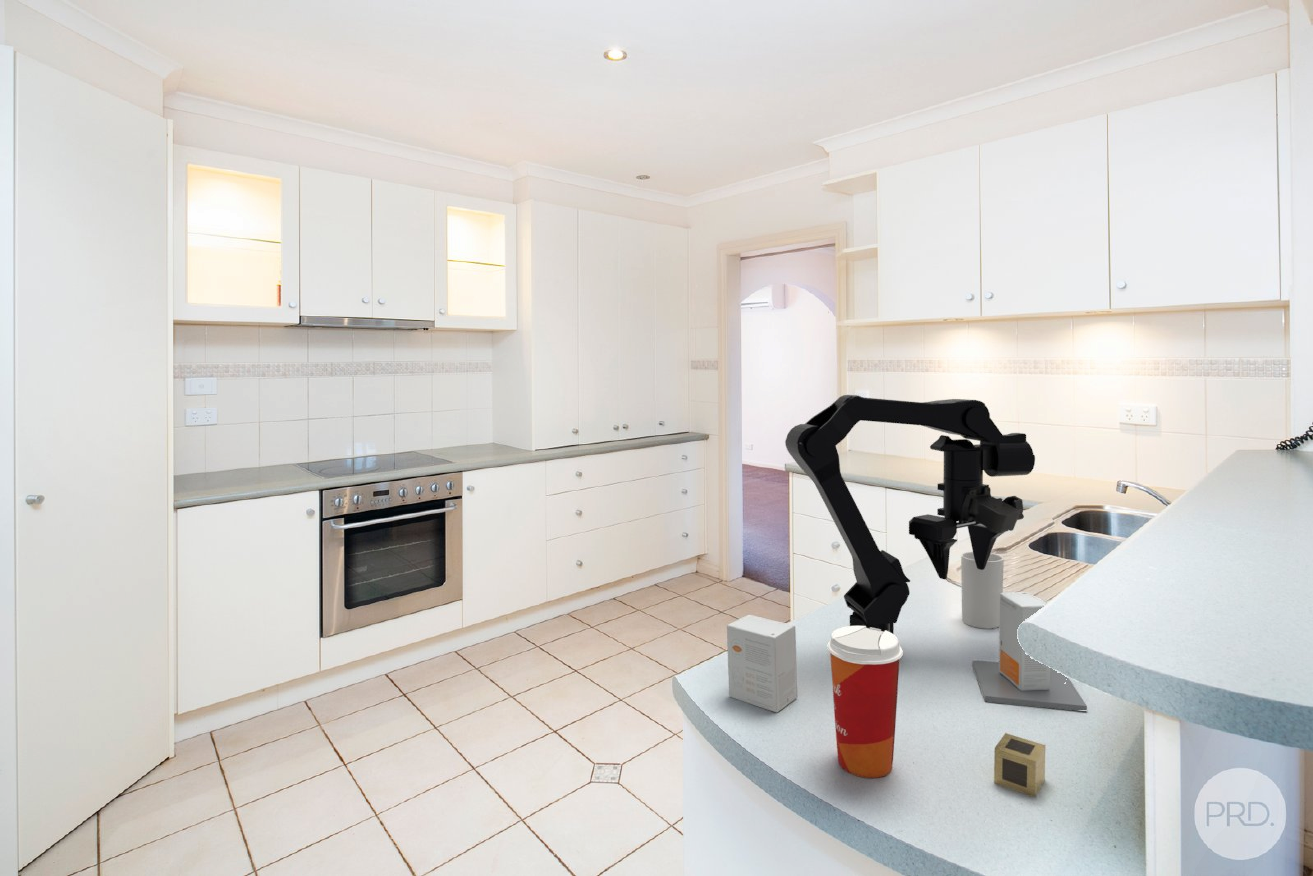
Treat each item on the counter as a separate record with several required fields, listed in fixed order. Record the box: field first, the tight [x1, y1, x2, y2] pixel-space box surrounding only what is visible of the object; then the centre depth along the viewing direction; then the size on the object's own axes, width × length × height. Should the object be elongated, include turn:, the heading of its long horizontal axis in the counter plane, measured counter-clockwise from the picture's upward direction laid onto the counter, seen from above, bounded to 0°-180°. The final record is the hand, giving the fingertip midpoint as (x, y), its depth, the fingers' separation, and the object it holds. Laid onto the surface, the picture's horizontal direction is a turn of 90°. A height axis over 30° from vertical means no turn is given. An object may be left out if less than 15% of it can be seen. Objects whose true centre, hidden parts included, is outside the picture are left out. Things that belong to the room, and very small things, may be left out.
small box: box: [726, 614, 798, 713], centre depth 94 cm, size 8×6×10 cm
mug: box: [960, 551, 1005, 630], centre depth 120 cm, size 10×7×12 cm, turn 162°
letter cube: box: [993, 732, 1046, 798], centre depth 73 cm, size 4×4×4 cm
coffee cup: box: [826, 625, 904, 779], centre depth 77 cm, size 8×8×15 cm
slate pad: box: [971, 659, 1088, 711], centre depth 95 cm, size 12×12×1 cm
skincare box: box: [998, 591, 1050, 691], centre depth 94 cm, size 6×4×12 cm
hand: (962, 574), depth 108 cm, fingers open, 9 cm apart
